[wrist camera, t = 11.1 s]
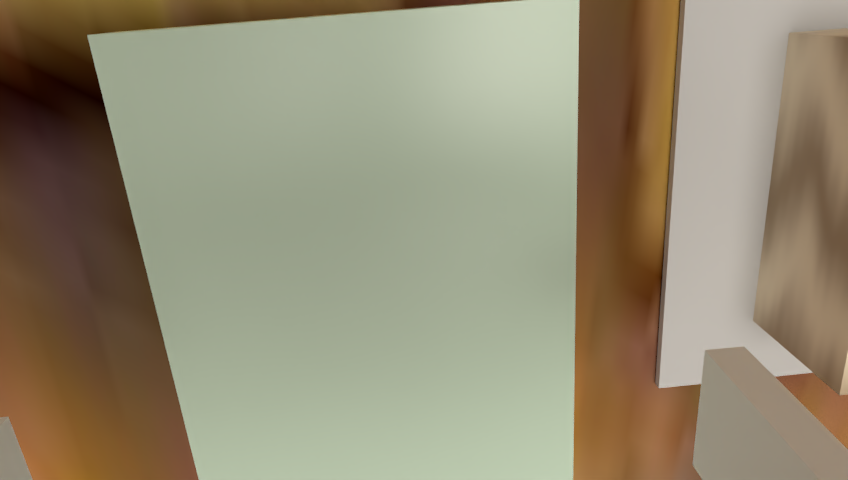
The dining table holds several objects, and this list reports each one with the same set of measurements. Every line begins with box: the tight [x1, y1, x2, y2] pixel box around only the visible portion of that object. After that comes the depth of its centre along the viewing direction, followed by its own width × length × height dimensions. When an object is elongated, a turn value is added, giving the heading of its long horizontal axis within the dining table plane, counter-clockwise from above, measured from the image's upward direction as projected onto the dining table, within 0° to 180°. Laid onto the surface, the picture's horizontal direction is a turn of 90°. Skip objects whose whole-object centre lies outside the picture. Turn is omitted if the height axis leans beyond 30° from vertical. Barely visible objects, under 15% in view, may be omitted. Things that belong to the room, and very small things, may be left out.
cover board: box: [87, 0, 579, 480], centre depth 19 cm, size 16×12×2 cm
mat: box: [655, 0, 848, 388], centre depth 26 cm, size 18×14×1 cm
